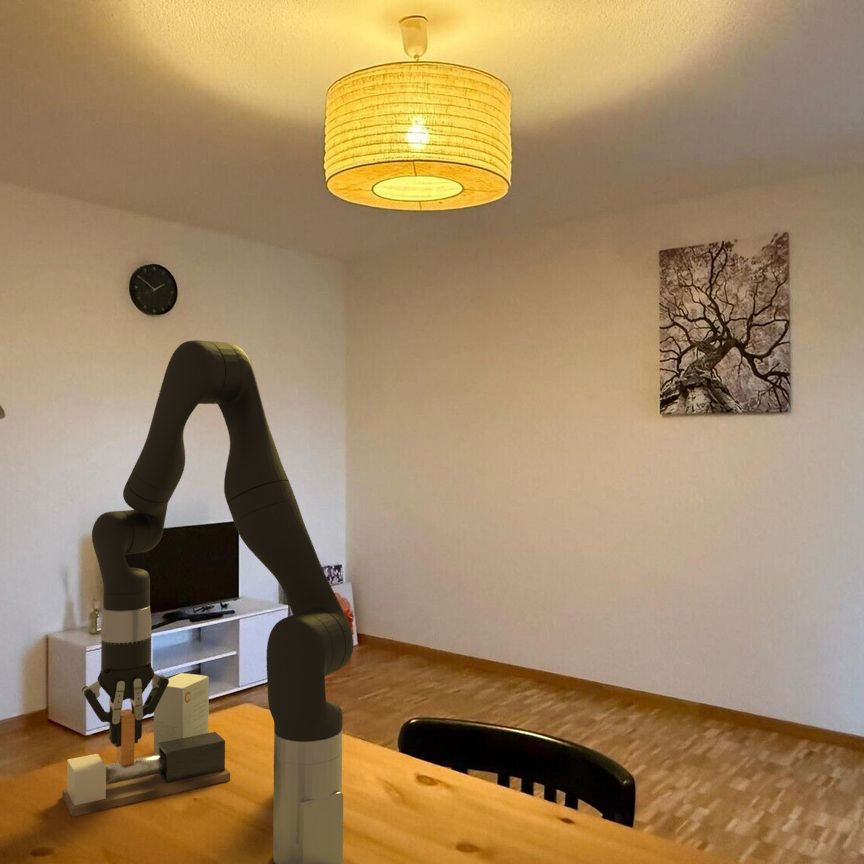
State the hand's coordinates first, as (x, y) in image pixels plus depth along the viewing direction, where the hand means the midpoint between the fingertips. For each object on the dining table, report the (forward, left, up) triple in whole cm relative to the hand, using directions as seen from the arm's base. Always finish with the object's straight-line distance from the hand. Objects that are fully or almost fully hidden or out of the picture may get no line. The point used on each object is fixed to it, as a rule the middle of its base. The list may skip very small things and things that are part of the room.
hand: (125, 743), depth 132 cm
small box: (+13, -13, -8) cm, 20 cm away
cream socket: (0, +6, -7) cm, 9 cm away
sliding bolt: (0, -3, -6) cm, 7 cm away
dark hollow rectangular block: (0, -11, -7) cm, 13 cm away
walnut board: (0, -4, -8) cm, 9 cm away
